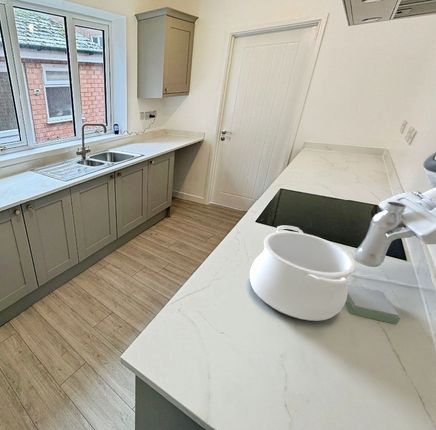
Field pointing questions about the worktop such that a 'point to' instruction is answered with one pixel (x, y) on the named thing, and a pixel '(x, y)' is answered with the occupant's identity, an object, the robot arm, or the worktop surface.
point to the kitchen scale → (370, 304)
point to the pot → (302, 275)
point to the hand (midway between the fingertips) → (379, 231)
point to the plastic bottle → (380, 235)
